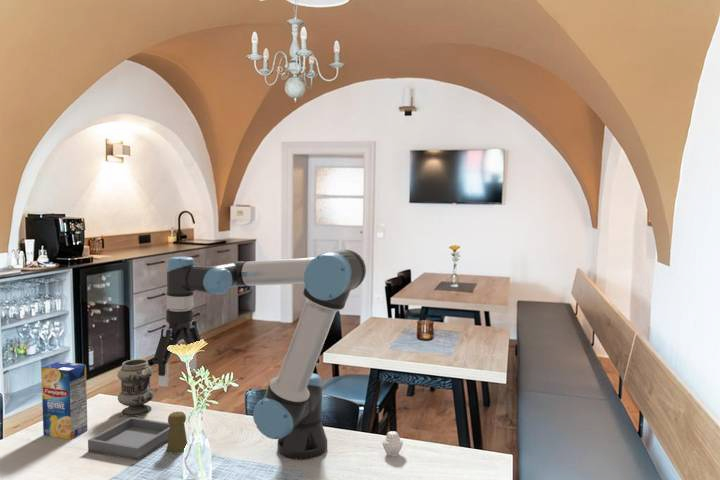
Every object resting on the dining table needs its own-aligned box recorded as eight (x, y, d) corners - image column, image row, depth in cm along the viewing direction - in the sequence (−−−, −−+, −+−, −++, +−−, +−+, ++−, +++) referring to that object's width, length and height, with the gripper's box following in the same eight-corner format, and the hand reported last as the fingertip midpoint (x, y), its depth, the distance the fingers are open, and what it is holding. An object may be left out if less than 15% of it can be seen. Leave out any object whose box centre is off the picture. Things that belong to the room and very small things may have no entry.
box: (177, 434, 170) (177, 424, 170) (138, 460, 153) (137, 448, 152) (131, 427, 175) (130, 417, 175) (88, 451, 158) (87, 439, 158)
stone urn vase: (135, 403, 197) (134, 355, 196) (161, 407, 193) (161, 359, 192) (110, 415, 185) (109, 364, 184) (137, 420, 181) (136, 368, 180)
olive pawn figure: (181, 454, 157) (180, 417, 156) (162, 451, 158) (162, 416, 157) (191, 445, 163) (191, 410, 162) (173, 443, 164) (173, 408, 163)
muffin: (400, 460, 154) (400, 436, 154) (379, 457, 156) (380, 434, 155) (404, 451, 160) (404, 428, 159) (385, 448, 162) (385, 425, 161)
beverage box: (71, 439, 166) (69, 370, 165) (43, 435, 169) (40, 367, 168) (87, 430, 173) (86, 364, 171) (60, 426, 176) (58, 361, 174)
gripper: (194, 300, 170) (192, 364, 172) (140, 315, 146) (139, 390, 148) (214, 302, 168) (212, 368, 169) (163, 318, 144) (161, 394, 146)
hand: (178, 378), depth 159 cm, fingers open, 13 cm apart
